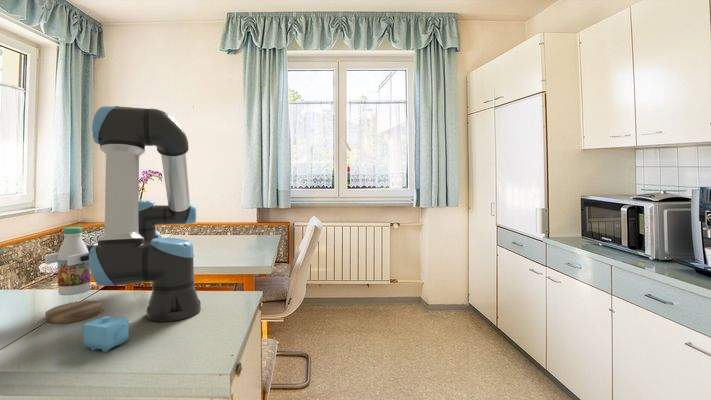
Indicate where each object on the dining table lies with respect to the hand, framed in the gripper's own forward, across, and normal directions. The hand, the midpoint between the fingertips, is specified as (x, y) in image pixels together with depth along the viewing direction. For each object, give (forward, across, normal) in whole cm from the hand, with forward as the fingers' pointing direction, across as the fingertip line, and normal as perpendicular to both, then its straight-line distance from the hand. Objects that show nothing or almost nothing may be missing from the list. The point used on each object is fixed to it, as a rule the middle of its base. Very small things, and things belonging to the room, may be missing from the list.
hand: (57, 260), depth 104 cm
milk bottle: (-5, 0, -11) cm, 12 cm away
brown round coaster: (-5, 0, -18) cm, 19 cm away
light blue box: (+11, -29, -18) cm, 36 cm away
